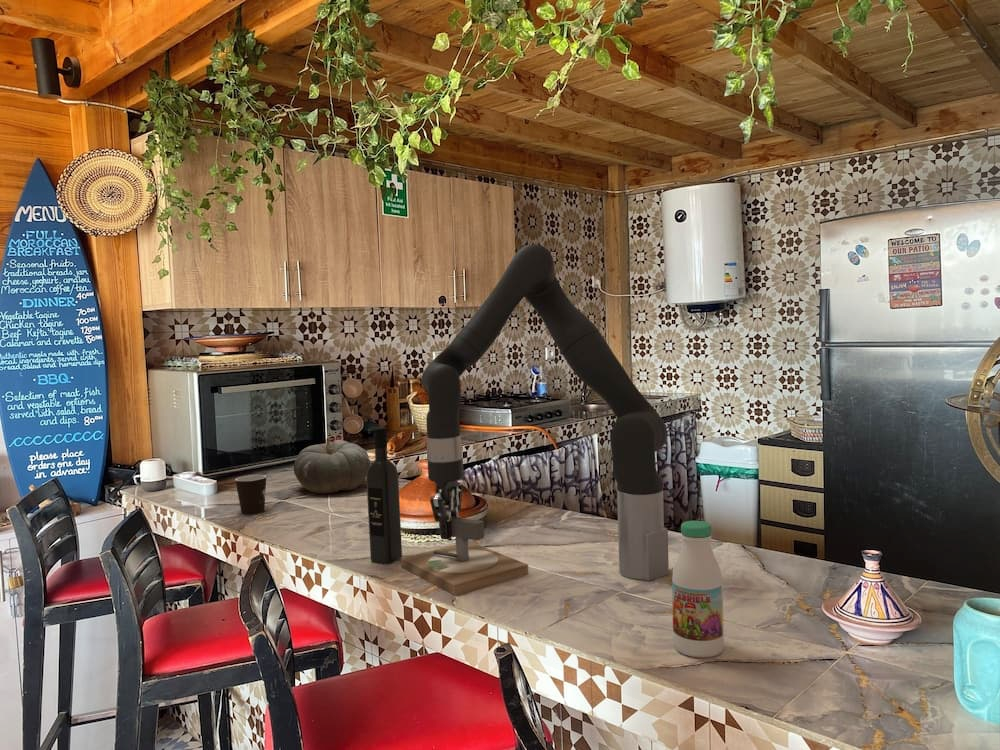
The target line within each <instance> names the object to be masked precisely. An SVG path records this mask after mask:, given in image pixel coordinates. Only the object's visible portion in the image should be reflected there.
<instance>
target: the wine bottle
mask: <svg viewBox="0 0 1000 750" xmlns="http://www.w3.org/2000/svg"><path fill="white" fill-rule="evenodd" d="M387 430H388V428H387V426H386V427H385V426H378V427H374V428H373V429H372V433H373V440H374V441H373V442H374V456H375V457H374V460H373V462H371V465H370V466H369V468H368V470H367V476H366V478H365V479H366V480H365V481H366V495H367V496H366V497H367V514H368V533H369V534H368V535H369V554H370V561H371V562H373V561H374V562H373V563H378V562H380V564H385V565H386V564H387V565H389V564H392V563H394V562H396V561H397V560H399V559H400V560H401V558H403V544H402V527H401V526H402V525H401V523H402V522H401V508H400V507H401V506H400V505H401V504H400V487H399V485H400V484H399V473H398V469H397V467H396V465H395V463H394V462H392V461H391V460H389V458H388V444H387V443H388V441H387V439H388V438H387V437H388V435H387V434H388V431H387Z"/></svg>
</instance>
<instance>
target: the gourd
mask: <svg viewBox="0 0 1000 750" xmlns="http://www.w3.org/2000/svg"><path fill="white" fill-rule="evenodd" d="M325 441H326V443H320V444H319V443H318V444H314V445H309V446H307V447H305V448H303V449H302V450H301V451H299V453H298V455H297V457H296V459H295V461H294V463H293V464H294V465H293V472H294V475H295V478H296V479H297V480H298V482H299V483H300V485H301V486H302V487H303V488H305V490H307V491H309V492H311V493H316V494H321V495H322V494H323V495H324V494H333V493H338V492H339V491H344V492H345V491H346V492H350V491H353V490H355V489H357V488H358V487H359V486H360V485H361V484H362V483H363V482H364V480H365V479H366V476H367V470H368V468H369V466H370V465H371V464H372V462H371V460H370V458H369V454H368V452H367V450H366V449H364V448H363V447H361V446H359V444H356V443H350V442H348V441H347V440H342V439H336V440H334V441H333V442H332V441H330V439H329V437H326V439H325Z"/></svg>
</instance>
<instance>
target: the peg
mask: <svg viewBox="0 0 1000 750" xmlns="http://www.w3.org/2000/svg"><path fill="white" fill-rule="evenodd" d="M450 522H451V534H452V537H453V538H455V545H456V554H454V553H448V552H442V551H437V549H435V550H436V551H434V554H437V555H443V556H449V557H455V558H457V560H458V561H466V560H468V559H469V550H468V542H469V540H471V541H472V540H473V541H480V540H483V539H484V538H485V521H484V520H480V519H479V520H478V519H472V518H471V519H470V518H464V517H458V516H456V517H451V521H450ZM438 525H439V526H438V528H439V535H440V536H441V531H440V522H438ZM452 537H451V538H452Z"/></svg>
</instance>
